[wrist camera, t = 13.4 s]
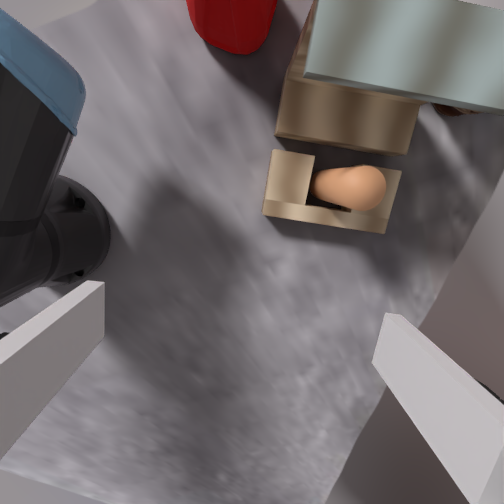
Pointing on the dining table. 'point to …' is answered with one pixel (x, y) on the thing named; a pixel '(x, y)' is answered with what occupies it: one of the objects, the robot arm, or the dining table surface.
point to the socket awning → (378, 89)
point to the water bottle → (232, 23)
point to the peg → (349, 187)
